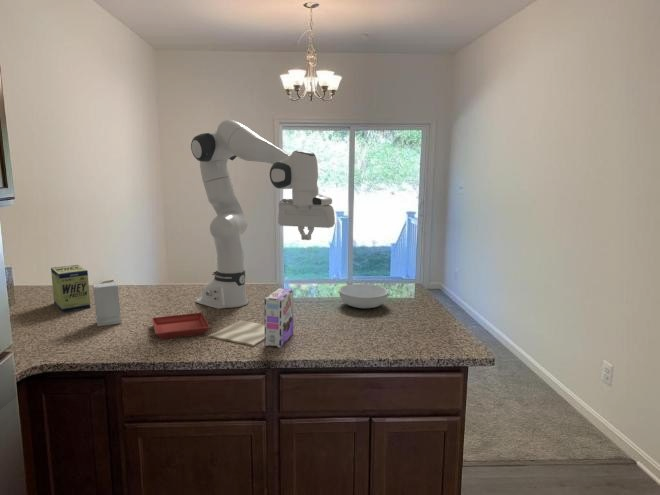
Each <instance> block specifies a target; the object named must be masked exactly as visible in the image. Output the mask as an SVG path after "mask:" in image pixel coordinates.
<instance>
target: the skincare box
mask: <svg viewBox="0 0 660 495" xmlns="http://www.w3.org/2000/svg"><path fill="white" fill-rule="evenodd" d="M92 290H93V297H94V298H93V299H94V307H95V316H96V325H97V327H104V326H112V325H117V324H122V317H121V315H122V314H121V308H120V306H121V305H120V296H119V284H118V282H117V281H111V282H106V283H105V282H104V283H95V284H93V289H92Z"/></svg>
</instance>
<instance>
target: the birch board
mask: <svg viewBox="0 0 660 495" xmlns="http://www.w3.org/2000/svg"><path fill="white" fill-rule="evenodd" d="M209 337H210V338H213V339H218V340H222V341H227V342H232V343H237V344H240V345H246V346H251V347H255V346H257V345H258V344H260V343H262V342H265V323H264V324H262V323H258V322H252V321H246V320H242V319H241V320H238V321H237V322H234V323H233V324H230V325H228V326H226V327H224V328H222V329H220V330H218V331H216V332H214V333H211V334H210V335H209Z"/></svg>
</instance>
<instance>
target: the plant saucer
mask: <svg viewBox="0 0 660 495" xmlns="http://www.w3.org/2000/svg"><path fill="white" fill-rule="evenodd" d="M151 320H152V324H153V329H154V333H155V335H156V336H157V337H158V338H159V339H161V340H164V339H165V340H166V339H173V338H174V339H175V338H181V337H189V336H190V337H191V336H197V335H198V336H199V335H204V334H205V333H206V332H208V330H209V329H210V326H211V325H210V324H209V322H208V321H207V319H206V316H205V315H204V314H203V313H202V312H194V313H185V314H175V315H169V316H168V315H167V316H166V315H164V316H158V317H157V316H156V317H152V318H151Z"/></svg>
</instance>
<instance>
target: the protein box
mask: <svg viewBox="0 0 660 495" xmlns="http://www.w3.org/2000/svg"><path fill="white" fill-rule="evenodd" d="M50 271H51V281H52V283H51V284H52V295H53V303H54V305H55V306H56V308H58V310H59V311H61V313H66V312H73V311H80V310H83V309H90V308H91V300H90V299H91V298H90V297H91V296H90V286H89V285H90V284H89V273H88V270H87V269H86V268H84V267H83V266H81V265H78V264H74V265H64V266H55V267H51V268H50Z"/></svg>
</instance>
